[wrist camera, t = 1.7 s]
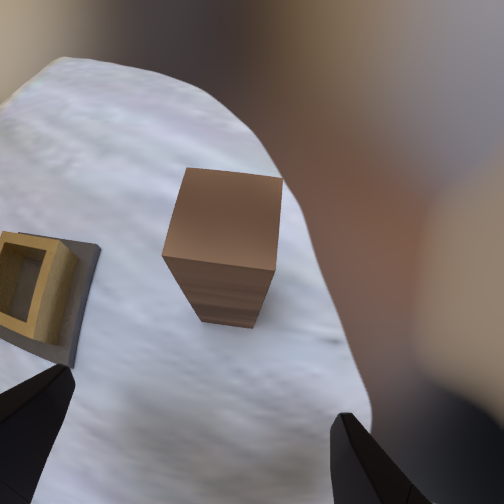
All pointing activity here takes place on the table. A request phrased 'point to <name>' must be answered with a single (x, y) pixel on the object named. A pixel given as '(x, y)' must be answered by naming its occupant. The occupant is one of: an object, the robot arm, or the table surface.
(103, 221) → the table surface
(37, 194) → the table surface
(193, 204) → the rail post
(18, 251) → the gold square frame
